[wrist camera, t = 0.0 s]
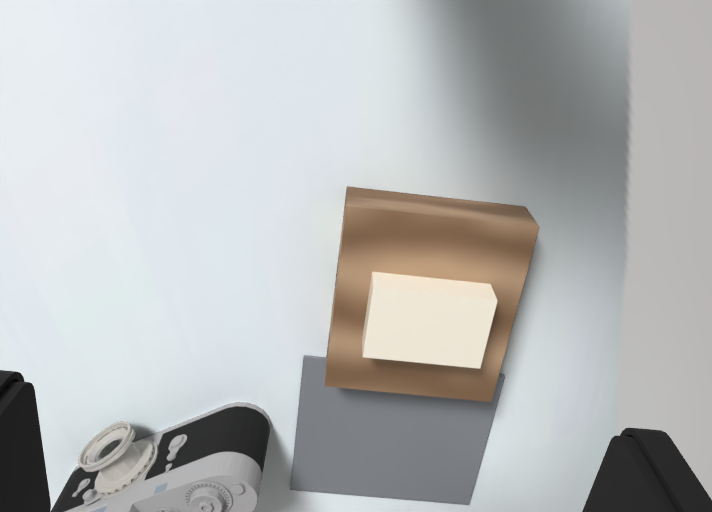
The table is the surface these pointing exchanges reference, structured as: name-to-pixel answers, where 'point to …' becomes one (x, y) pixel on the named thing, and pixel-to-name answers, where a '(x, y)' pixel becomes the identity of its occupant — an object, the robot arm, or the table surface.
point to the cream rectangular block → (427, 320)
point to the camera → (173, 466)
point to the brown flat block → (433, 260)
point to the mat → (387, 441)
